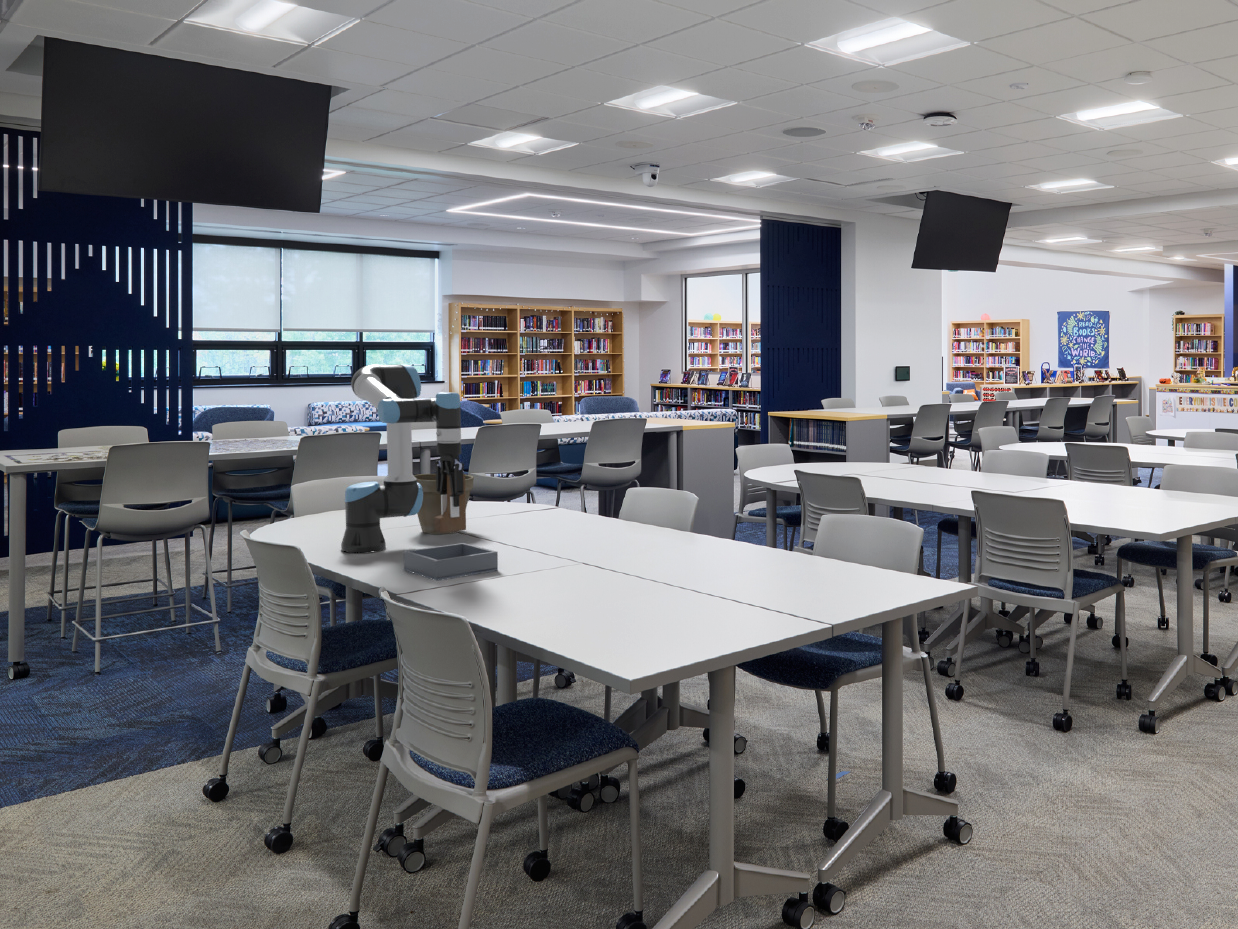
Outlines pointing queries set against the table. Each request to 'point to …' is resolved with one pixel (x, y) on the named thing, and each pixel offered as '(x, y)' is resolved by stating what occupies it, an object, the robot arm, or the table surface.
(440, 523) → the wooden block
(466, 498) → the plant pot
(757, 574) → the table surface
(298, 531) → the table surface
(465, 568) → the open-top box
